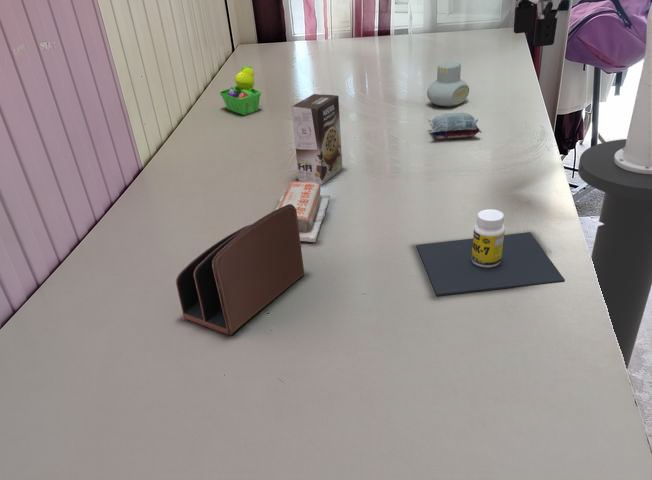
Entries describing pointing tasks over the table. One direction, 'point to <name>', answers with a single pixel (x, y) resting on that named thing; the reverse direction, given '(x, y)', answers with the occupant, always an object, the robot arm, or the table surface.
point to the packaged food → (454, 125)
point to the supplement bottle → (488, 238)
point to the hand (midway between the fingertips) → (532, 38)
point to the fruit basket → (242, 93)
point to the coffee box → (317, 137)
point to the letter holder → (242, 272)
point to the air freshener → (448, 85)
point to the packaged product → (306, 207)
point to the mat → (464, 276)
